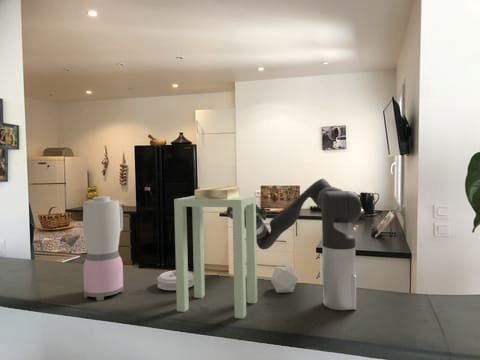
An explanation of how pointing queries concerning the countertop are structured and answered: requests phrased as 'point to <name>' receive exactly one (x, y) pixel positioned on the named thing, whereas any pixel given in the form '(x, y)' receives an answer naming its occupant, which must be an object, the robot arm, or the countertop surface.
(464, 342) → the countertop surface
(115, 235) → the blender
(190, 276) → the lid
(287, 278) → the die
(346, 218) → the robot arm
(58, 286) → the countertop surface
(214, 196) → the cheese board
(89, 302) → the countertop surface
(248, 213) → the mint green side table
